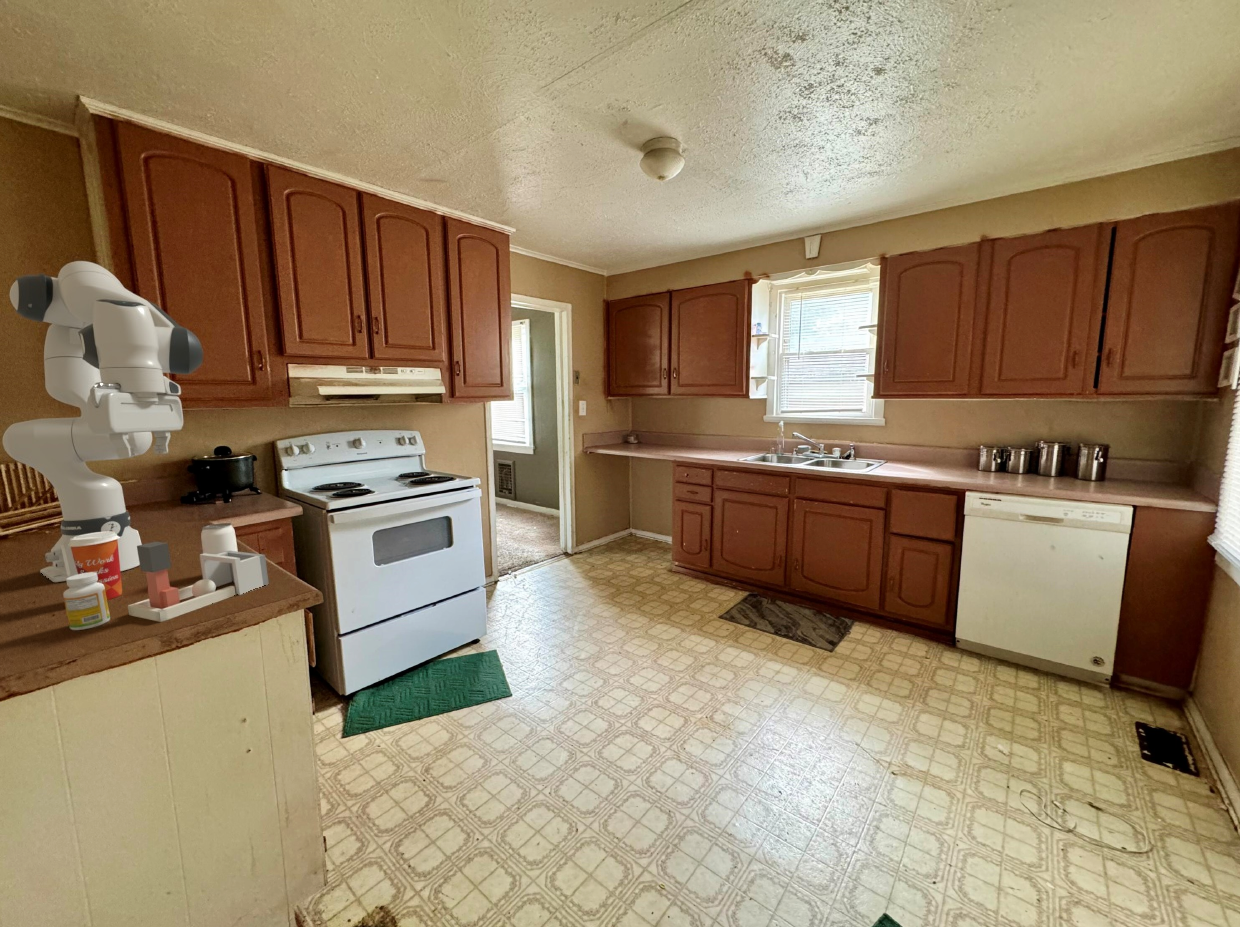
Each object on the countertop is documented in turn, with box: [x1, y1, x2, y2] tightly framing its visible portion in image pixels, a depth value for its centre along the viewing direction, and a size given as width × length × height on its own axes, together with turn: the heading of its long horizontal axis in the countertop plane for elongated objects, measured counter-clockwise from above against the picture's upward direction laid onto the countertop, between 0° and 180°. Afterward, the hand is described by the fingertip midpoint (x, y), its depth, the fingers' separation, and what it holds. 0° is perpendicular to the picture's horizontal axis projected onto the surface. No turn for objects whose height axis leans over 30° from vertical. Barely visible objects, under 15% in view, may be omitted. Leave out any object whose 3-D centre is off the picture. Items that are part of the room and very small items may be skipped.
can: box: [200, 522, 239, 555], centre depth 122 cm, size 6×6×12 cm
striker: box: [137, 541, 181, 609], centre depth 100 cm, size 6×3×14 cm, turn 69°
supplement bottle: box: [62, 572, 111, 631], centre depth 95 cm, size 5×5×10 cm
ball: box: [192, 578, 217, 598], centre depth 107 cm, size 4×4×4 cm
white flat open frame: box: [127, 584, 237, 623], centre depth 104 cm, size 10×13×2 cm
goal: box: [199, 551, 270, 596], centre depth 113 cm, size 12×6×8 cm, turn 69°
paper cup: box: [68, 531, 123, 601], centre depth 109 cm, size 8×8×14 cm
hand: (144, 455), depth 99 cm, fingers open, 8 cm apart
